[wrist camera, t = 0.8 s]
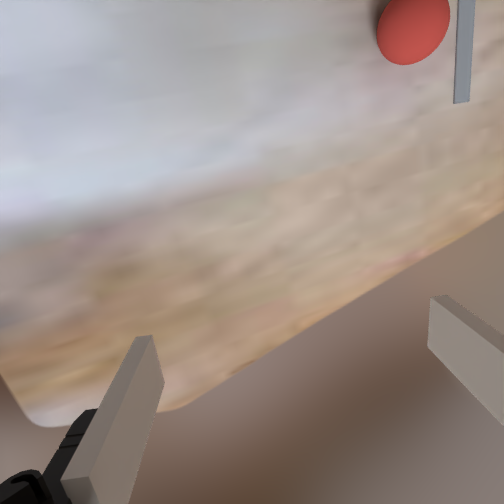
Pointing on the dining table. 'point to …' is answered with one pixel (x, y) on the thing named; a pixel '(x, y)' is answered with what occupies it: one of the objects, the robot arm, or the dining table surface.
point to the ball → (412, 29)
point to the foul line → (464, 50)
